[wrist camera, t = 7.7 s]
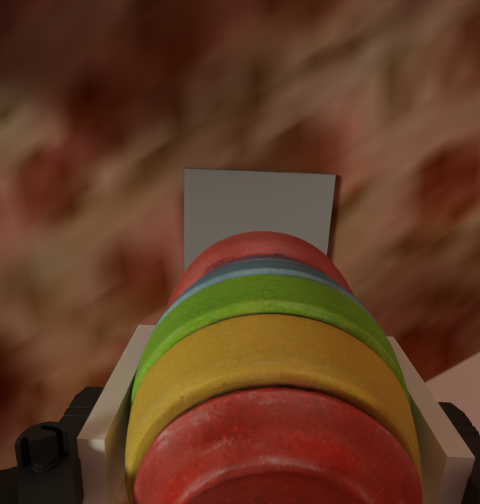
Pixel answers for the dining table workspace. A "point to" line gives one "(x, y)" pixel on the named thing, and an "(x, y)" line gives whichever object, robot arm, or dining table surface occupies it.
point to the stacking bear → (269, 388)
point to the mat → (254, 206)
